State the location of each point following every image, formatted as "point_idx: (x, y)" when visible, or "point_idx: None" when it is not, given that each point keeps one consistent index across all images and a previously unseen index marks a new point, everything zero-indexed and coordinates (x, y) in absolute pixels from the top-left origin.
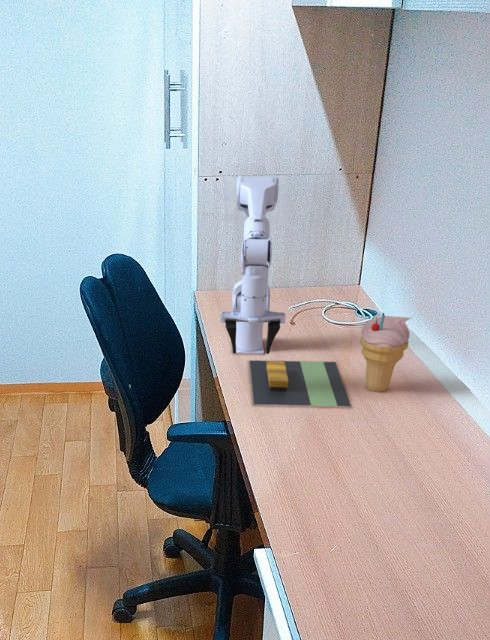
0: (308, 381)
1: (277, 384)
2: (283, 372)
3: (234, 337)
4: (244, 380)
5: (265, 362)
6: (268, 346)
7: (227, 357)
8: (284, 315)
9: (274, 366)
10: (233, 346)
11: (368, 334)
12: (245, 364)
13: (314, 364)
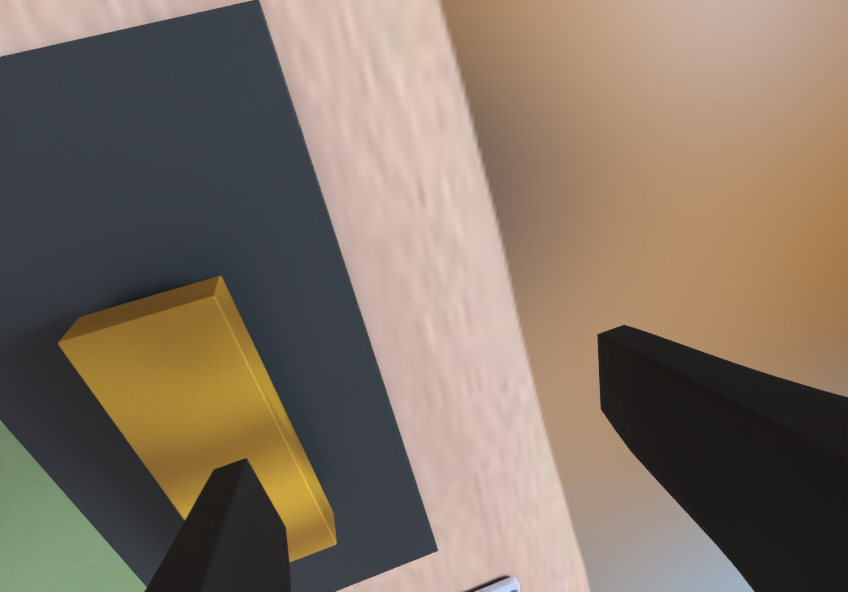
0: (29, 488)
1: (156, 302)
2: (168, 458)
3: (839, 440)
4: (420, 364)
5: (361, 566)
6: (197, 547)
7: (535, 536)
8: None
9: None
10: (696, 355)
11: None
12: (449, 516)
13: None
